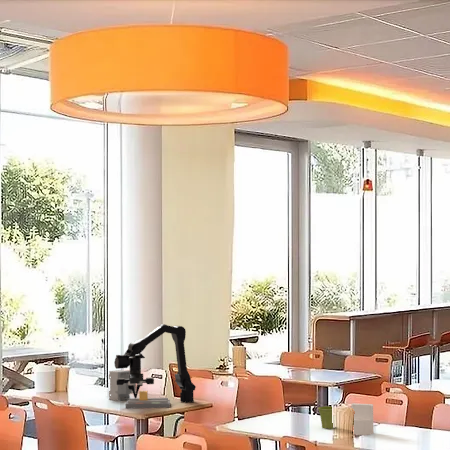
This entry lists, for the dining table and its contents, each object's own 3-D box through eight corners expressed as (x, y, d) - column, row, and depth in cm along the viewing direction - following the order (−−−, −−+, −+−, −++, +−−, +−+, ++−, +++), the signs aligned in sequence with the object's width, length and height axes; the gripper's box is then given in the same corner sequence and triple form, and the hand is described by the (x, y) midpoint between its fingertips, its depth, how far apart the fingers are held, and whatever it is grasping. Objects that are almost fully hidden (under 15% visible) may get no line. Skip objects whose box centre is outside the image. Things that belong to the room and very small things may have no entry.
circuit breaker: (128, 401, 498) (128, 372, 498) (108, 399, 506) (108, 371, 507) (138, 399, 504) (138, 371, 504) (118, 397, 512) (118, 370, 513)
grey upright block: (349, 434, 394) (349, 405, 395) (354, 430, 403) (354, 402, 403) (371, 435, 391) (370, 406, 392) (375, 432, 399) (375, 403, 400)
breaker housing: (170, 403, 489) (170, 397, 489) (169, 407, 475) (169, 401, 475) (127, 404, 488) (127, 397, 488) (125, 408, 474) (125, 401, 474)
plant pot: (325, 430, 404) (324, 410, 404) (314, 427, 413) (314, 407, 413) (344, 428, 408) (343, 408, 408) (333, 425, 416) (332, 405, 417)
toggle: (147, 400, 484) (147, 390, 484) (147, 401, 479) (147, 392, 480) (139, 400, 484) (139, 390, 484) (139, 402, 479) (139, 392, 479)
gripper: (115, 369, 474) (115, 401, 473) (153, 368, 475) (153, 400, 474) (117, 367, 485) (117, 397, 484) (153, 366, 486) (154, 397, 485)
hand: (135, 398), depth 482 cm, fingers closed
